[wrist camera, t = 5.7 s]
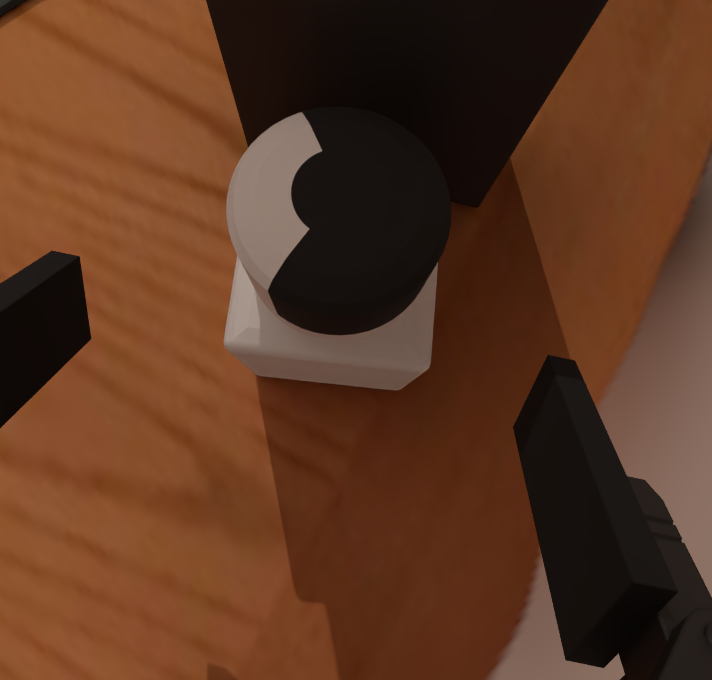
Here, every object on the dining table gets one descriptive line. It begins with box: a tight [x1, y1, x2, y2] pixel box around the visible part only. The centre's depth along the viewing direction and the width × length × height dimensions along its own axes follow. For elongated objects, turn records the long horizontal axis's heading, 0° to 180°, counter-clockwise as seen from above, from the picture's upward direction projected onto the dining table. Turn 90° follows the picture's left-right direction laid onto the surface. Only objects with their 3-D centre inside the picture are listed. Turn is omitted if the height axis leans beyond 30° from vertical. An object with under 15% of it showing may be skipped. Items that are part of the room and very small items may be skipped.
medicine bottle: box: [224, 107, 451, 391], centre depth 19 cm, size 7×7×12 cm
